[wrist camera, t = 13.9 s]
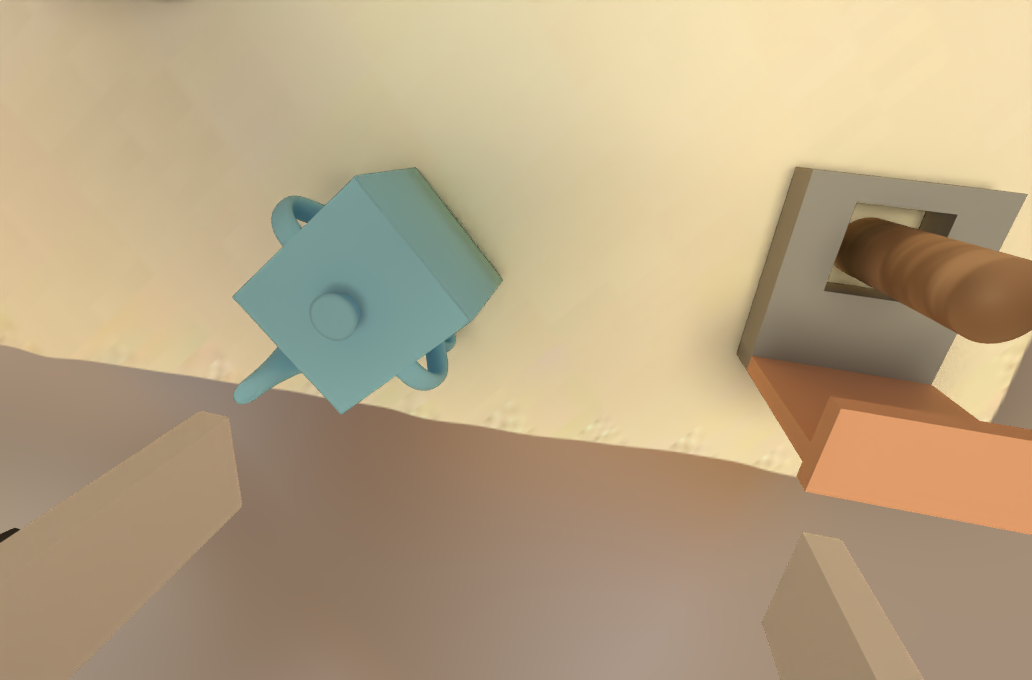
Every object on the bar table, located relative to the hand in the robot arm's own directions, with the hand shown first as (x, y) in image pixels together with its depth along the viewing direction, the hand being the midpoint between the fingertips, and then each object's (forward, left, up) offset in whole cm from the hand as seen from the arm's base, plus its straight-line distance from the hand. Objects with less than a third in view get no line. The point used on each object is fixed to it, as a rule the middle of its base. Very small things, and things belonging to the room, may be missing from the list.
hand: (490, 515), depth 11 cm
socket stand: (-1, +20, -29) cm, 35 cm away
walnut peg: (-3, +20, -29) cm, 35 cm away
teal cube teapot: (+5, -15, -29) cm, 33 cm away
